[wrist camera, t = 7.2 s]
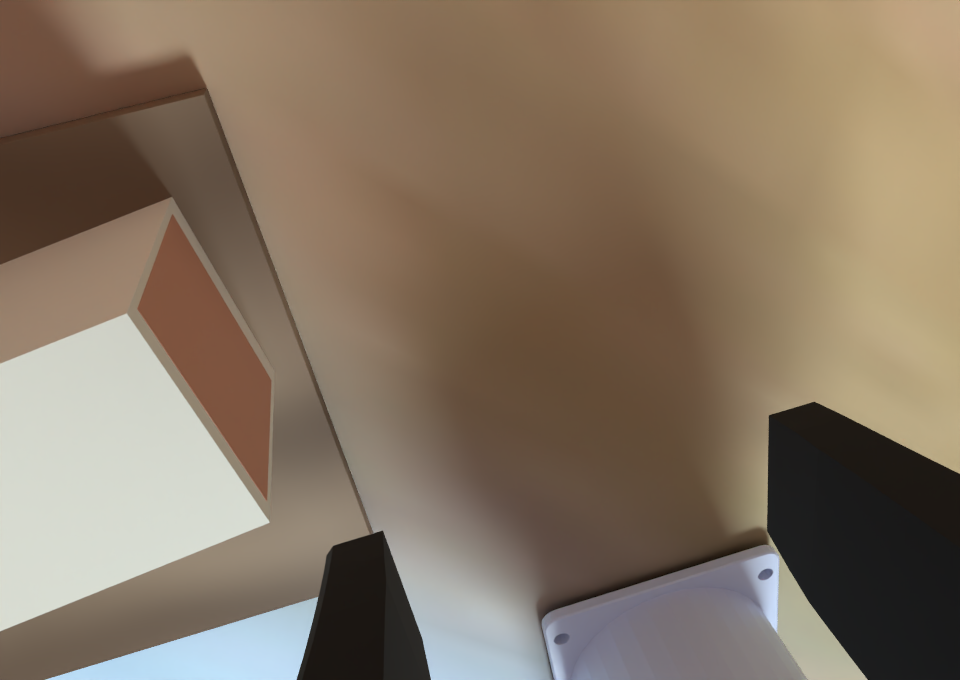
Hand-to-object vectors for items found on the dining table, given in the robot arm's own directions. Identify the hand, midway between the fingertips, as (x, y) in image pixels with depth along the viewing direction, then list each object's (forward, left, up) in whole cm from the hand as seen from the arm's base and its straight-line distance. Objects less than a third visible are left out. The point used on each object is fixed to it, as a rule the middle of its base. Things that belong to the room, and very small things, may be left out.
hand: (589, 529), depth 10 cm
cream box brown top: (0, +9, -9) cm, 13 cm away
